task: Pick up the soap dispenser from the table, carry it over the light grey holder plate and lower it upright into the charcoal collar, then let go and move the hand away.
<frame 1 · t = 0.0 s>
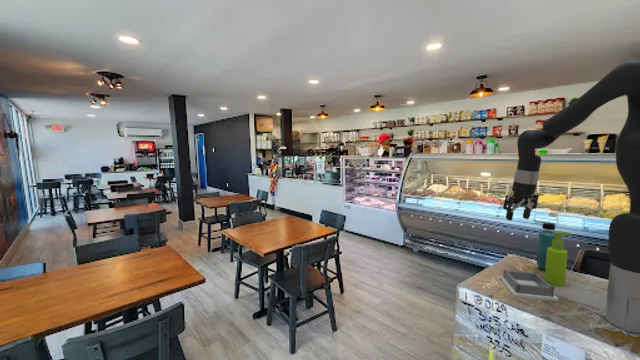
hand: (517, 219, 112), 22 cm above the counter, tool pointing down, fingers open, 8 cm apart
soap dispenser: (556, 283, 104), on the counter
dispenser holder: (526, 288, 100), on the counter
beverage bottle: (545, 270, 115), on the counter
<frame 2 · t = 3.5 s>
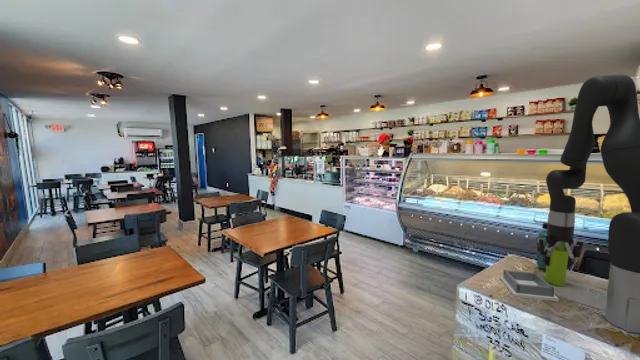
hand: (556, 265, 103), 7 cm above the counter, tool pointing down, fingers closed on soap dispenser, 6 cm apart
soap dispenser: (556, 282, 104), on the counter, touching gripper
everything else where it was.
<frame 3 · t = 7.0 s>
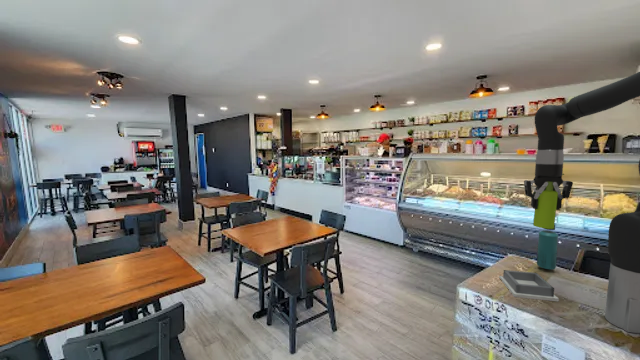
hand: (545, 208, 98), 29 cm above the counter, tool pointing down, fingers closed on soap dispenser, 6 cm apart
soap dispenser: (545, 227, 99), point 23 cm above the counter, touching gripper
everything else where it was.
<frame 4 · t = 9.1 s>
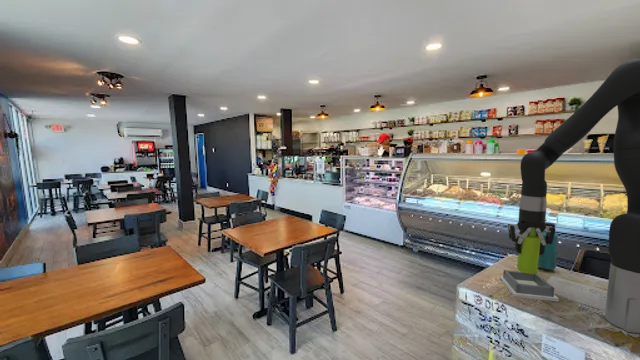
hand: (529, 253, 98), 14 cm above the counter, tool pointing down, fingers closed on soap dispenser, 6 cm apart
soap dispenser: (528, 271, 99), point 7 cm above the counter, touching gripper
everything else where it was.
when the fingers open (9 cm above the counter, at t = 10.7 s): soap dispenser stays where it is, resting on dispenser holder.
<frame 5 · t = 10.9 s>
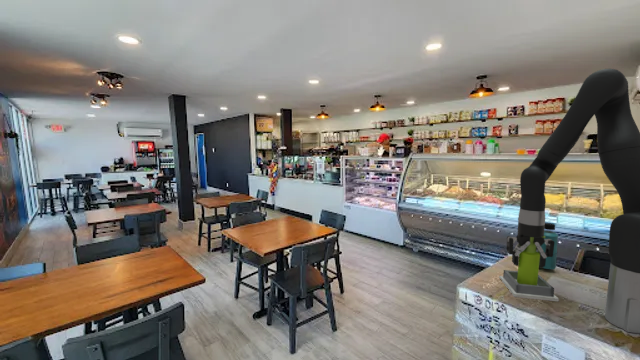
hand: (528, 265, 99), 9 cm above the counter, tool pointing down, fingers open, 7 cm apart
soap dispenser: (528, 286, 99), point 1 cm above the counter, touching dispenser holder
everything else where it was.
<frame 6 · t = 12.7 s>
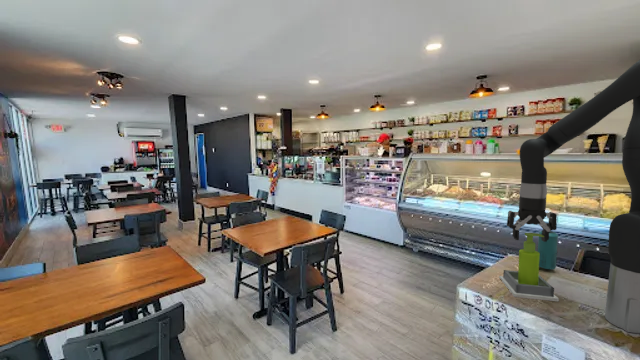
hand: (530, 240, 98), 18 cm above the counter, tool pointing down, fingers open, 8 cm apart
nothing on the counter moved.
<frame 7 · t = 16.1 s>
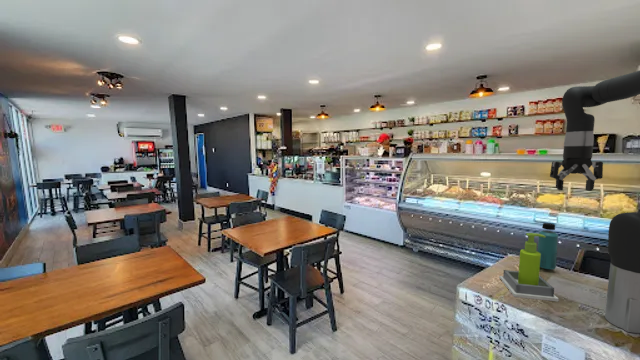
hand: (574, 190, 97), 36 cm above the counter, tool pointing down, fingers open, 8 cm apart
nothing on the counter moved.
at the end: soap dispenser 0.9 cm off-centre on the dispenser holder, point 0.8 cm above the dispenser holder's base; soap dispenser tilted 0°; the gripper is holding nothing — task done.
